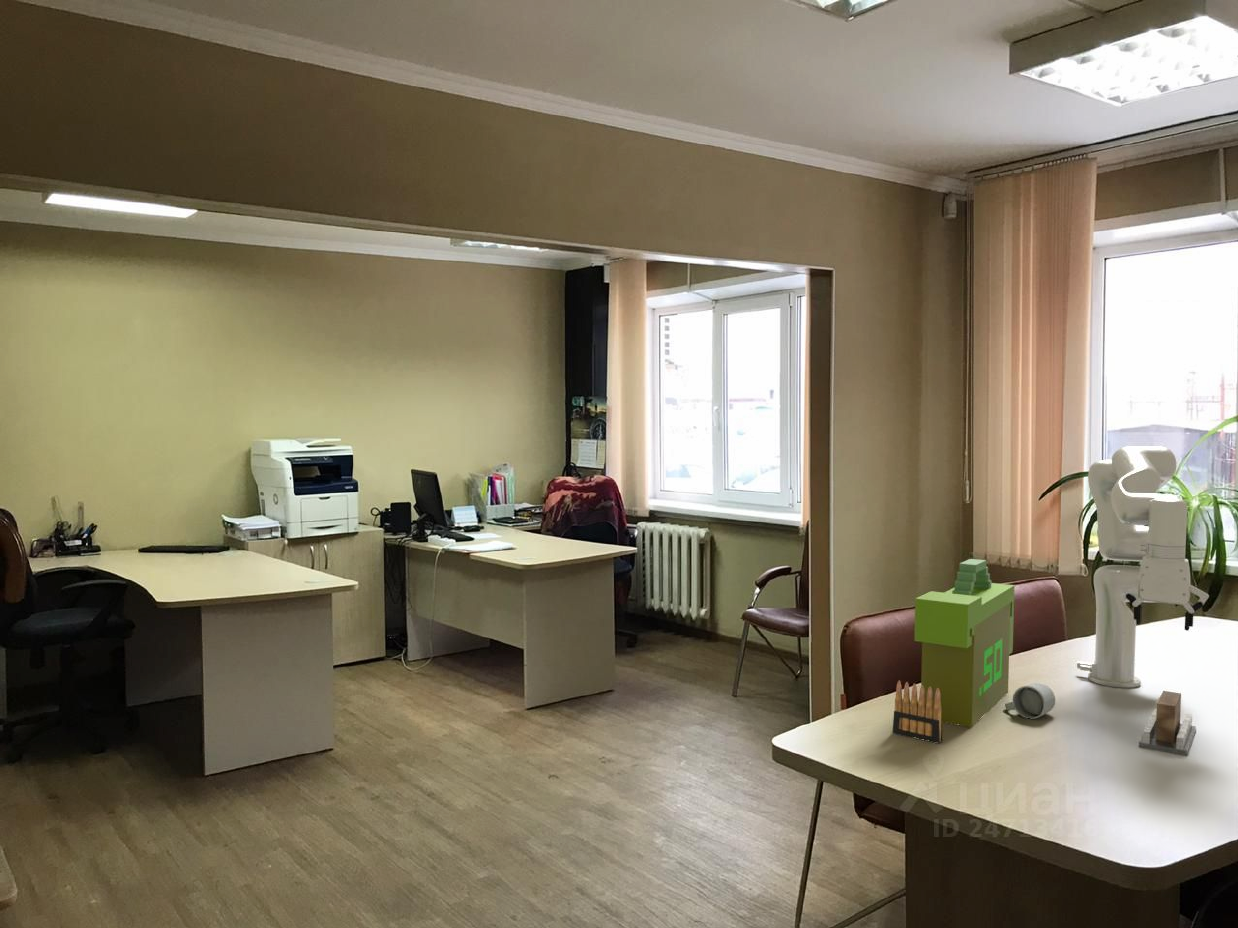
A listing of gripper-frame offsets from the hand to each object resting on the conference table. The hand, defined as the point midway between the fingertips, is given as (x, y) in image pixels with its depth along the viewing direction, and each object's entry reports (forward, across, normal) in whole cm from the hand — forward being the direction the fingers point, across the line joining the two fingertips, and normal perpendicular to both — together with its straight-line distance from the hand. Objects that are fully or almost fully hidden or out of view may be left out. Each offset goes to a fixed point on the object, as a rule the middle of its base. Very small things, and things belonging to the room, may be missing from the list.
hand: (1162, 626), depth 216 cm
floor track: (+23, +3, -8) cm, 25 cm away
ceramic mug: (+24, -26, -9) cm, 36 cm away
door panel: (+22, +3, -8) cm, 24 cm away
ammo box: (+24, -40, -11) cm, 48 cm away
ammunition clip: (+23, -42, -42) cm, 63 cm away
